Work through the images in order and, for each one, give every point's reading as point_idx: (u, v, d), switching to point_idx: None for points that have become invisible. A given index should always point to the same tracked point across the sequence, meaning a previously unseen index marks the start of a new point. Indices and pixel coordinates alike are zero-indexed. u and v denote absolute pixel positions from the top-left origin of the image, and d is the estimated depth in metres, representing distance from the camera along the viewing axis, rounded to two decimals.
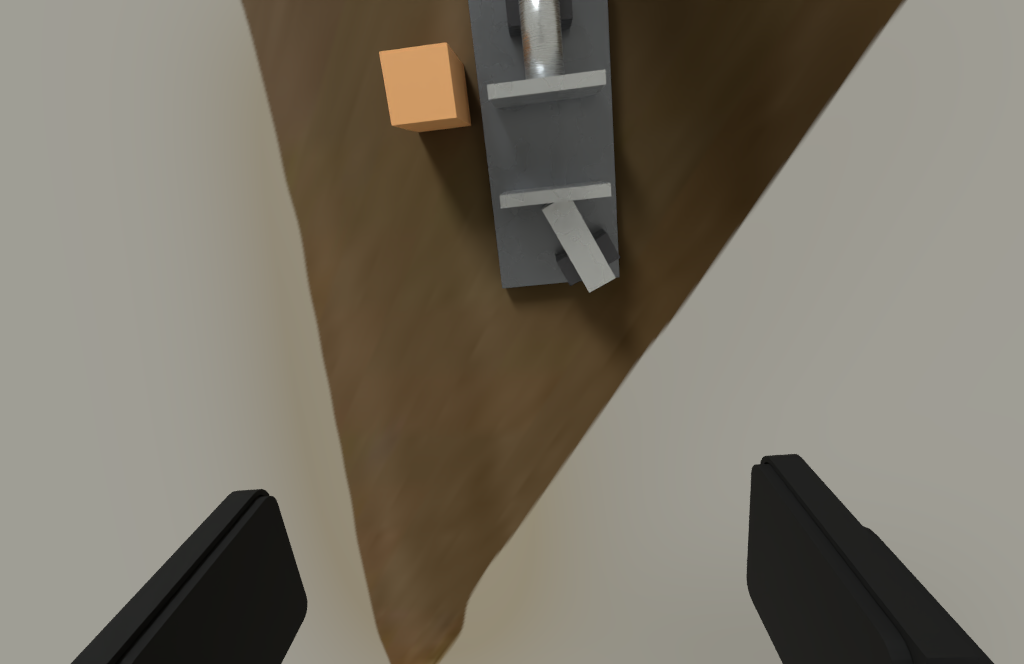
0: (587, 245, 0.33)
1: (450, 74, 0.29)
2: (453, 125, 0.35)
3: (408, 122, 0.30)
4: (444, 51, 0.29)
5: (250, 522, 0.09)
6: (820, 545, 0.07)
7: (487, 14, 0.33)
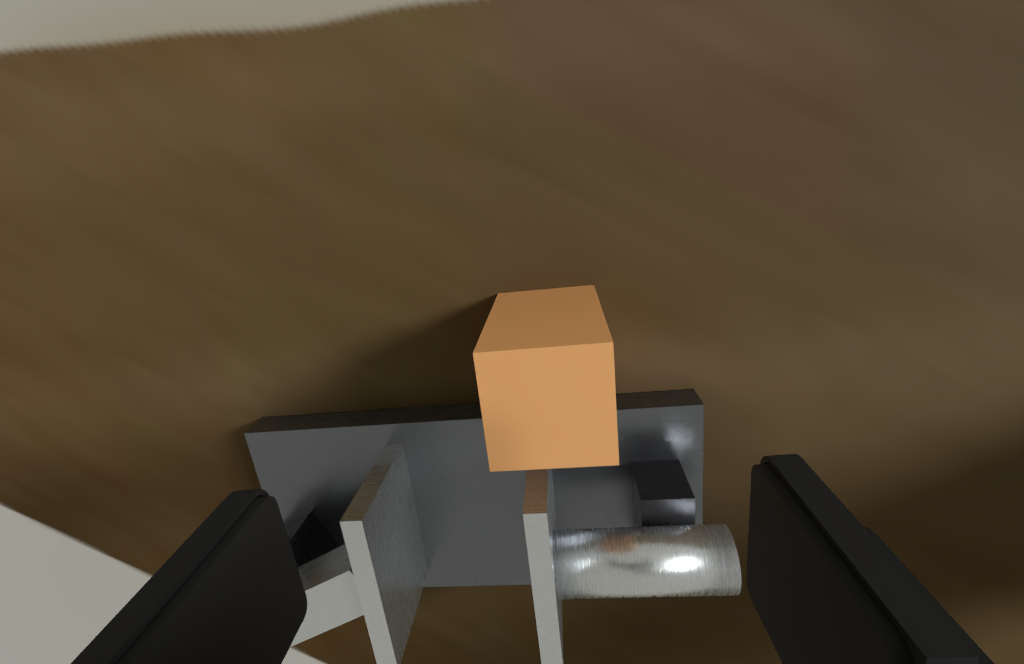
0: (301, 628, 0.20)
1: (564, 465, 0.15)
2: None
3: (479, 385, 0.15)
4: (604, 460, 0.15)
5: (250, 522, 0.09)
6: (820, 545, 0.07)
7: (664, 432, 0.21)
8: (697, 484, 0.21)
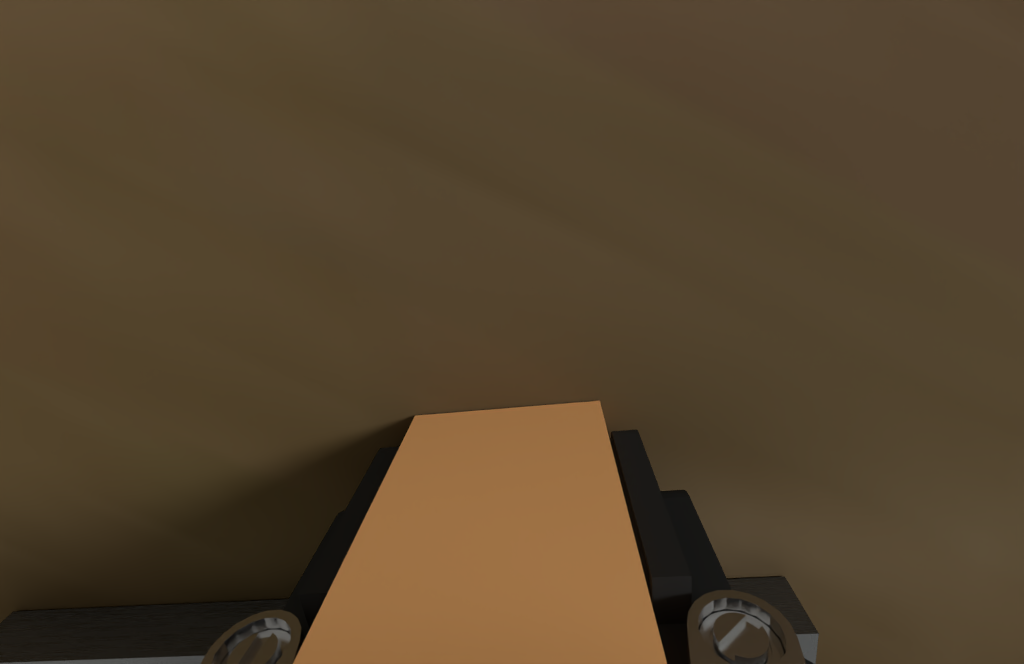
0: None
1: None
2: None
3: None
4: None
5: None
6: None
7: None
8: None
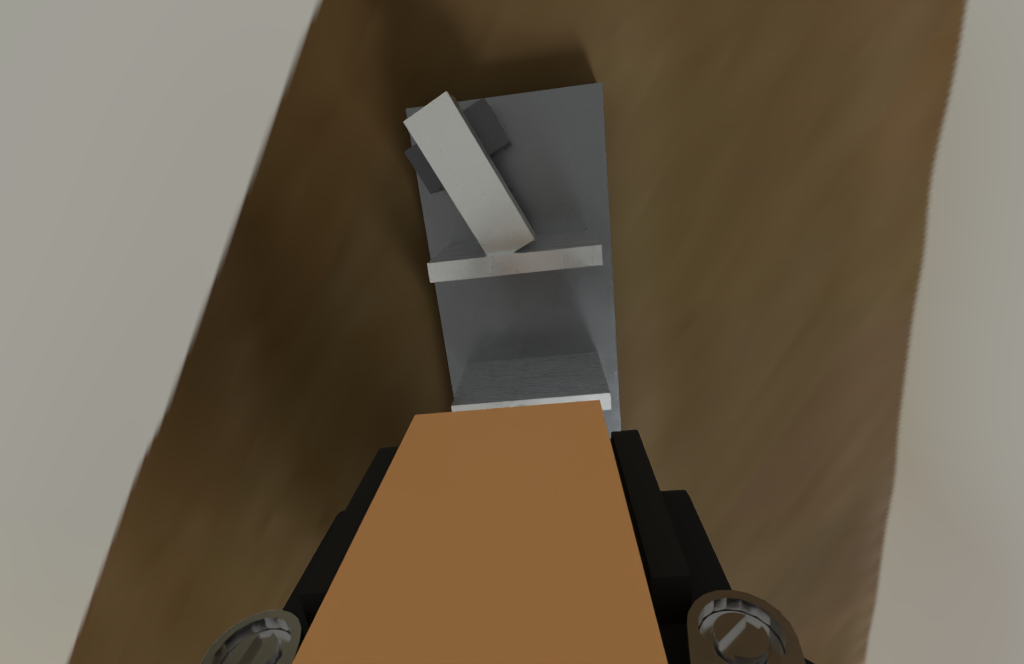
0: (457, 180, 0.19)
1: None
2: None
3: None
4: None
5: None
6: None
7: None
8: None
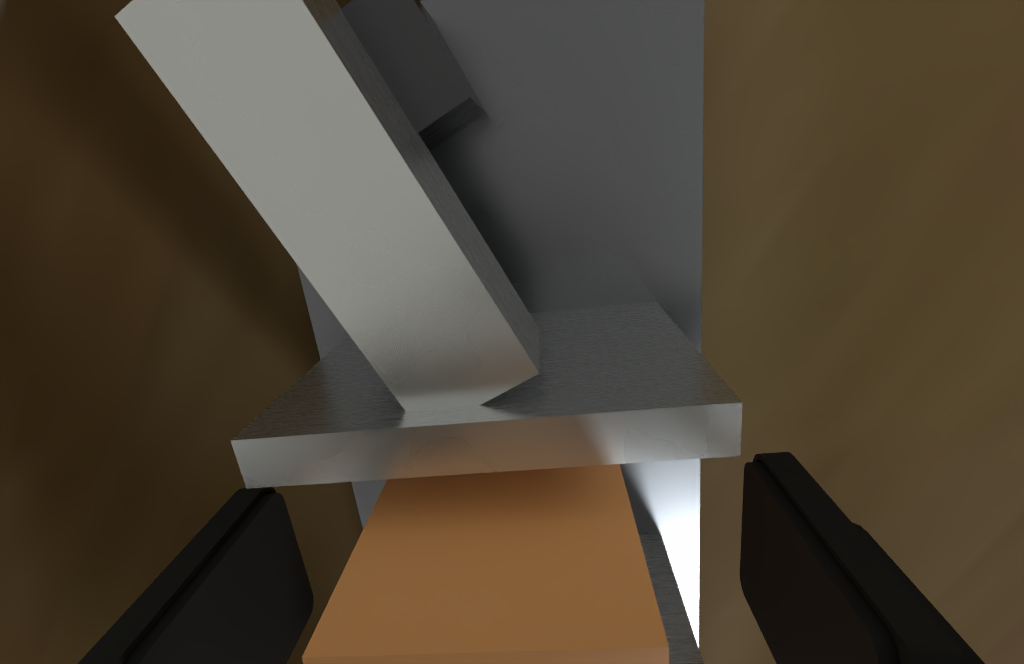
0: (305, 206, 0.06)
1: None
2: None
3: None
4: None
5: (258, 519, 0.09)
6: (810, 541, 0.07)
7: None
8: None
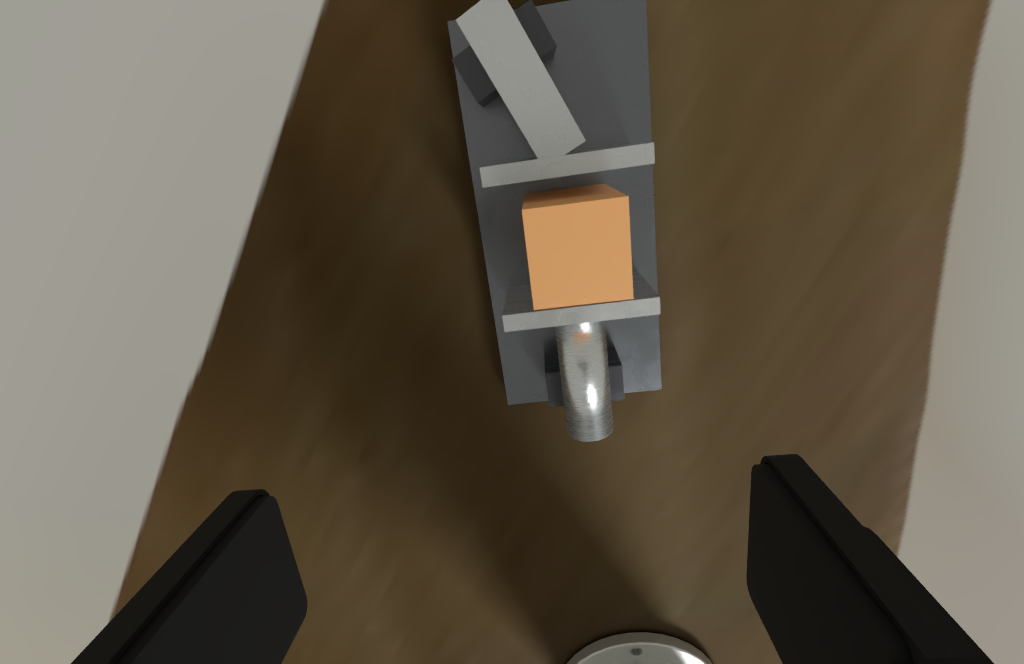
0: (509, 81, 0.20)
1: (591, 302, 0.20)
2: None
3: (526, 236, 0.19)
4: (622, 295, 0.20)
5: (250, 522, 0.09)
6: (820, 545, 0.07)
7: (639, 367, 0.28)
8: None
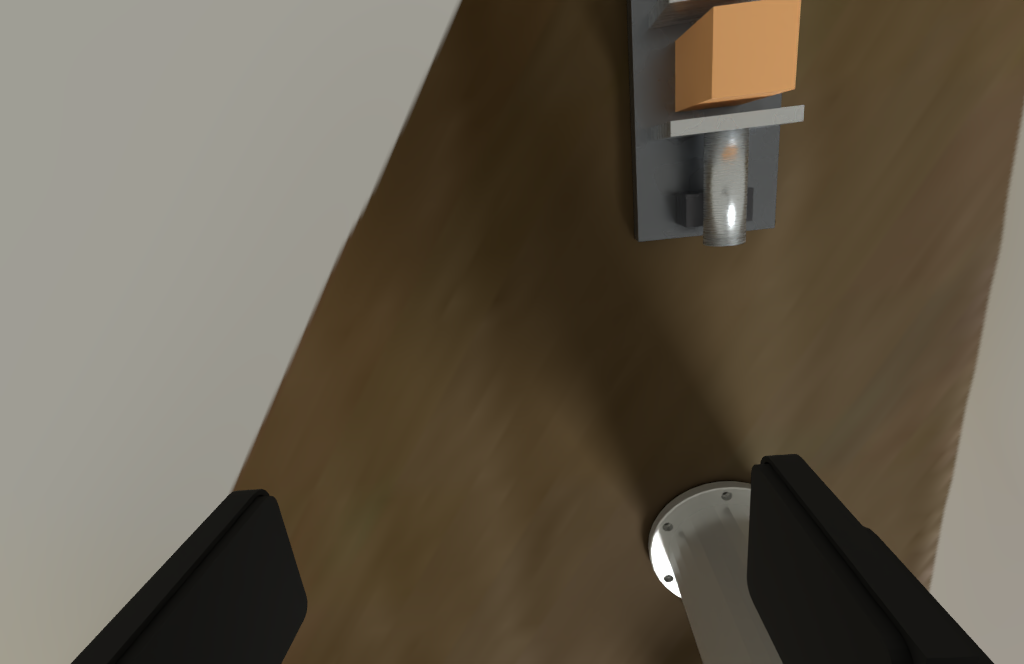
0: None
1: (759, 92, 0.25)
2: (683, 90, 0.29)
3: (714, 31, 0.24)
4: (785, 85, 0.24)
5: (250, 522, 0.09)
6: (820, 545, 0.07)
7: (757, 206, 0.33)
8: None
